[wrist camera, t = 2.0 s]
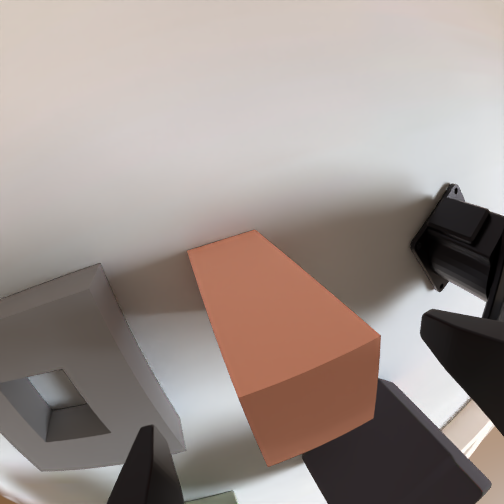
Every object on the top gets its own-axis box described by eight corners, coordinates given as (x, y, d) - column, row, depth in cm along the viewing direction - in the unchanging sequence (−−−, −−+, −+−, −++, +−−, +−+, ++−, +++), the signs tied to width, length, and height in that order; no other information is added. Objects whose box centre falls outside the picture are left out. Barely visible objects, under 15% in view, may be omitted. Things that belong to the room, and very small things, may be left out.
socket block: (100, 262, 14) (89, 288, 11) (179, 417, 18) (186, 450, 16) (-46, 318, 11) (-67, 343, 9) (46, 442, 16) (41, 471, 13)
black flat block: (324, 456, 26) (393, 561, 12) (295, 456, 24) (366, 576, 11) (395, 381, 25) (495, 482, 11) (371, 373, 23) (485, 494, 9)
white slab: (488, 375, 37) (511, 393, 32) (482, 418, 48) (497, 432, 43) (357, 493, 36) (374, 518, 31) (387, 501, 47) (400, 518, 42)
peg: (255, 229, 16) (380, 335, 7) (268, 289, 17) (373, 418, 8) (187, 250, 15) (238, 397, 6) (206, 310, 16) (268, 467, 7)
